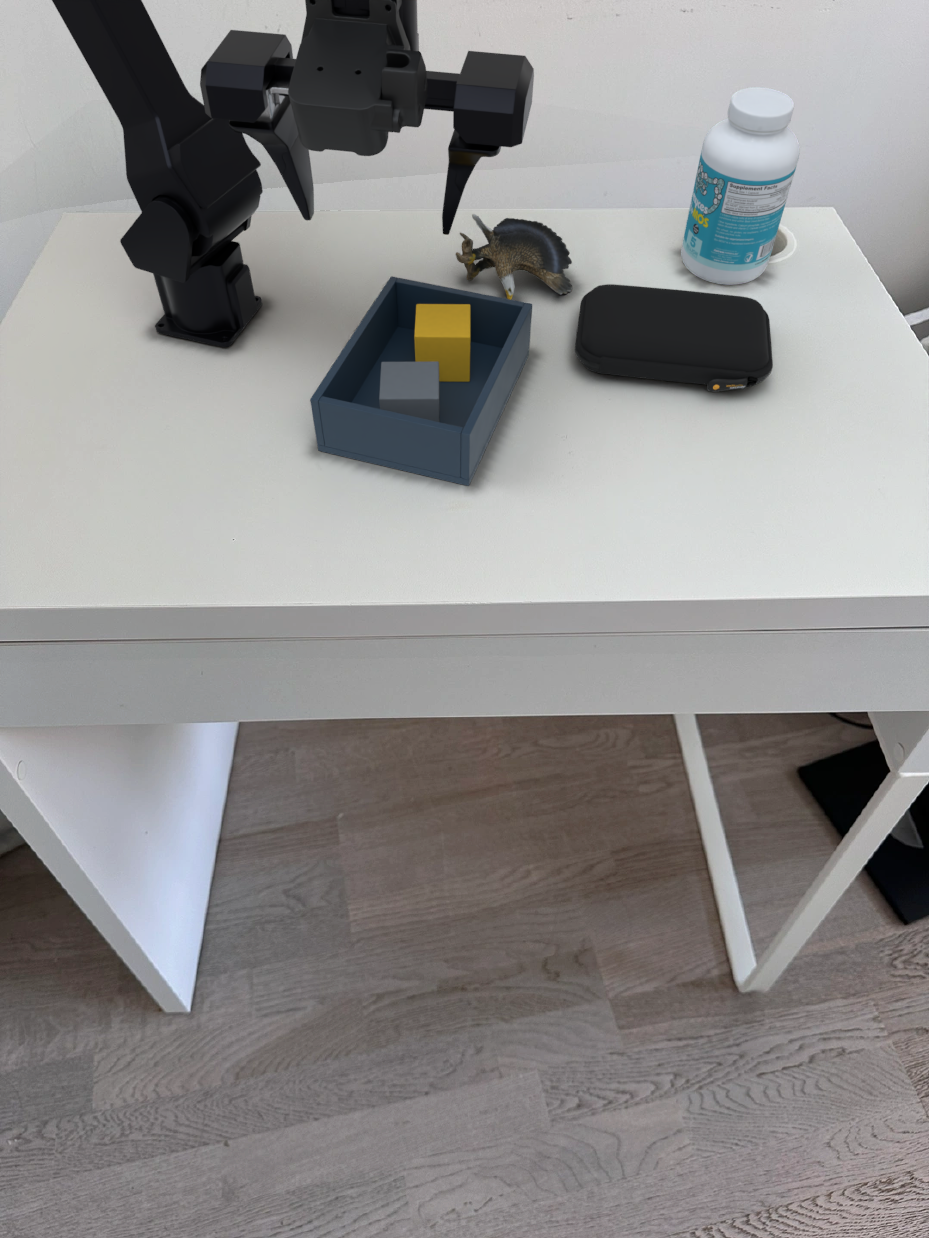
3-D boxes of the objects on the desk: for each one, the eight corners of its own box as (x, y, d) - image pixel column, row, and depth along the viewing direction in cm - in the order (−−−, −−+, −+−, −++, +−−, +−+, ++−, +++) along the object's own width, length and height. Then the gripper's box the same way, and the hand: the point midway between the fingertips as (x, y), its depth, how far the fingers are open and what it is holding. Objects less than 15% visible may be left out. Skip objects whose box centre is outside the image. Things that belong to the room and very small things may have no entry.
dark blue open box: (317, 451, 66) (309, 399, 63) (393, 327, 75) (390, 276, 71) (469, 486, 64) (469, 435, 61) (528, 355, 73) (532, 303, 69)
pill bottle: (678, 237, 83) (711, 75, 73) (763, 244, 83) (809, 81, 72) (678, 285, 79) (713, 120, 68) (768, 293, 78) (817, 127, 68)
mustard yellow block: (416, 382, 70) (414, 336, 67) (417, 349, 72) (416, 303, 69) (469, 382, 70) (470, 337, 67) (469, 349, 72) (470, 303, 69)
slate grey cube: (382, 444, 66) (379, 398, 63) (384, 407, 68) (381, 361, 65) (439, 443, 66) (439, 398, 63) (439, 406, 68) (438, 361, 65)
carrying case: (569, 389, 70) (768, 410, 69) (573, 355, 68) (780, 376, 67) (580, 306, 77) (762, 324, 76) (584, 273, 74) (773, 290, 73)
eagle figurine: (460, 308, 75) (574, 294, 73) (449, 211, 72) (566, 194, 71) (473, 306, 82) (577, 293, 80) (463, 218, 80) (569, 202, 78)
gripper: (133, -11, 45) (200, 279, 58) (519, 22, 44) (502, 312, 56) (208, -89, 52) (253, 186, 64) (544, -62, 50) (524, 214, 63)
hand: (377, 224), depth 62 cm, fingers open, 9 cm apart
